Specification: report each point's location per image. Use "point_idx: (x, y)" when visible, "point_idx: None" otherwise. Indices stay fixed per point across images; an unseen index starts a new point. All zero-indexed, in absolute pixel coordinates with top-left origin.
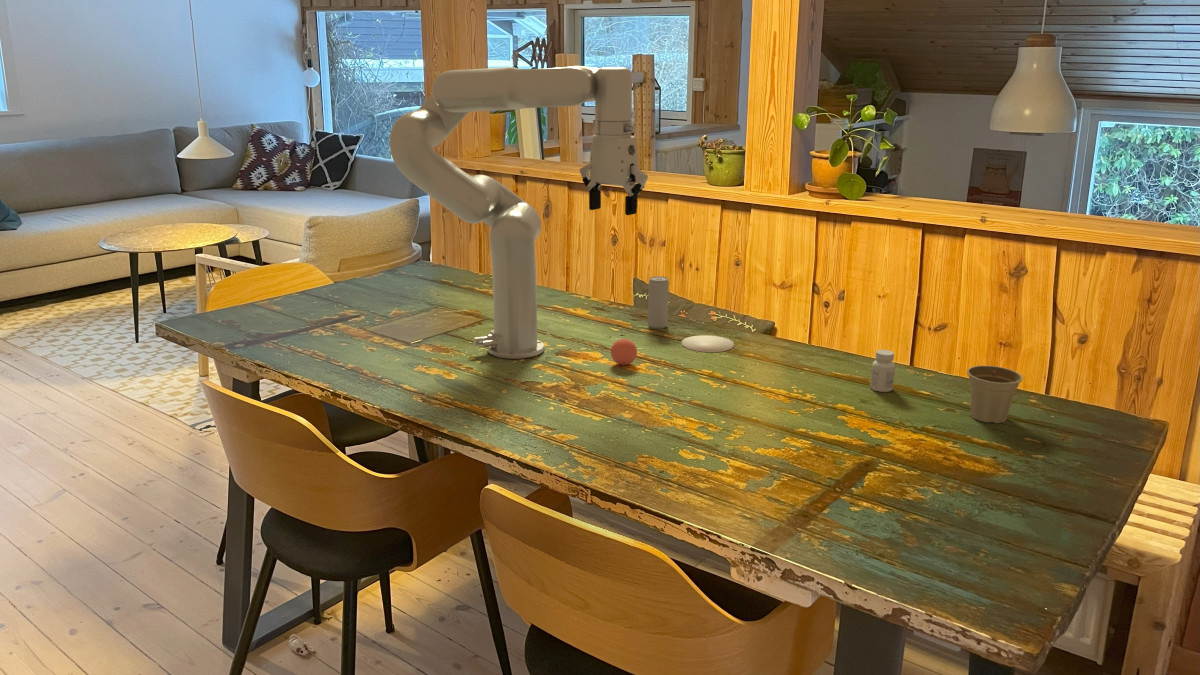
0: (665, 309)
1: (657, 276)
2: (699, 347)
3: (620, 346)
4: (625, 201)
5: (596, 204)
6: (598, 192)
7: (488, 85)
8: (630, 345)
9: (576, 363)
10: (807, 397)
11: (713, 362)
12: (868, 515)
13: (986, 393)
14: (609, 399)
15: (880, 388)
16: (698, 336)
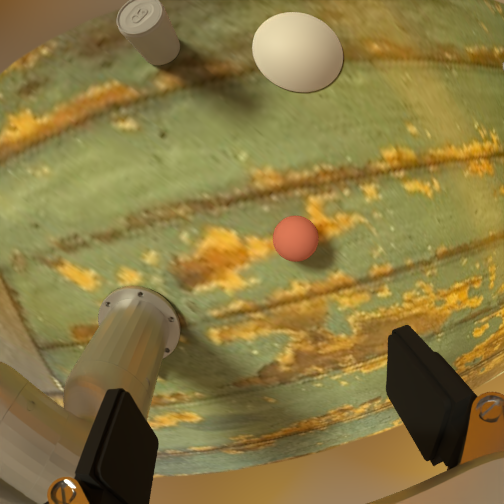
0: (175, 34)
1: (122, 7)
2: (308, 76)
3: (306, 257)
4: (416, 441)
5: (138, 435)
6: (115, 481)
7: None
8: (315, 241)
9: (240, 288)
10: (495, 143)
11: (370, 115)
12: None
13: None
14: (372, 326)
15: None
16: (260, 35)
